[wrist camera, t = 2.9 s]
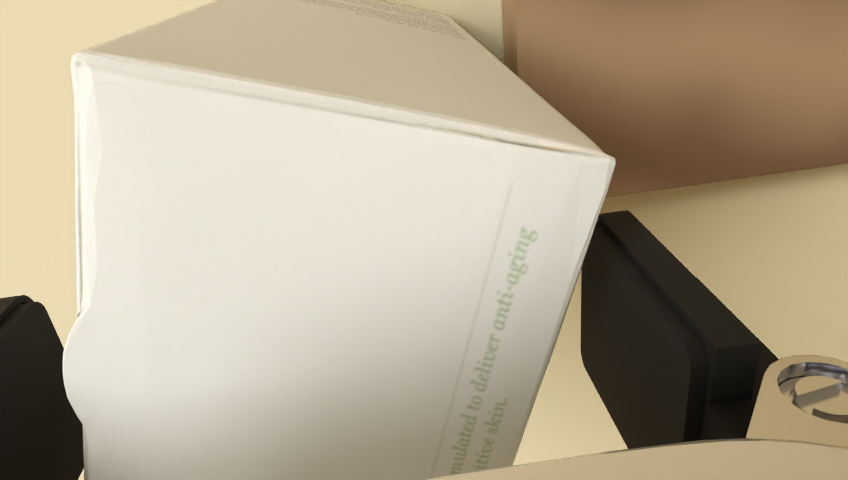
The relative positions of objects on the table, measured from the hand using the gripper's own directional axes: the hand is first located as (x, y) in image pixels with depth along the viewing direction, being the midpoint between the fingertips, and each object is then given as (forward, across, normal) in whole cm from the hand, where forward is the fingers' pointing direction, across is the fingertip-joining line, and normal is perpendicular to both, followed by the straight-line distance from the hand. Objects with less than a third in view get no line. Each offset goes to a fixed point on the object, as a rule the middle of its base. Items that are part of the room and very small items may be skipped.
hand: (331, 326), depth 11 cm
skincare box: (+13, 0, -1) cm, 13 cm away
